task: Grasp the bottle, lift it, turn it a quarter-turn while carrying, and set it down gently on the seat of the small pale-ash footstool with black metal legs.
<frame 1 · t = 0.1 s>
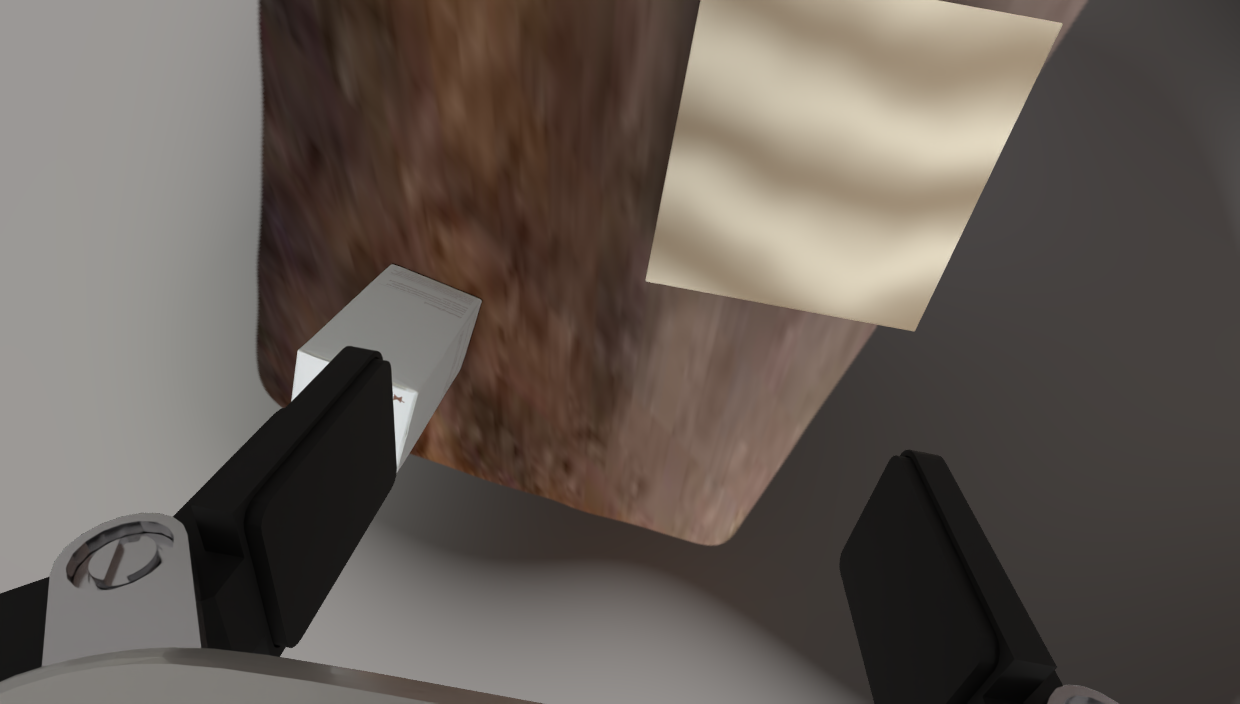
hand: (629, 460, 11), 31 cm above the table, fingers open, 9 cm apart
supplement box: (428, 317, 47), on the table
footstool: (802, 139, 37), on the table
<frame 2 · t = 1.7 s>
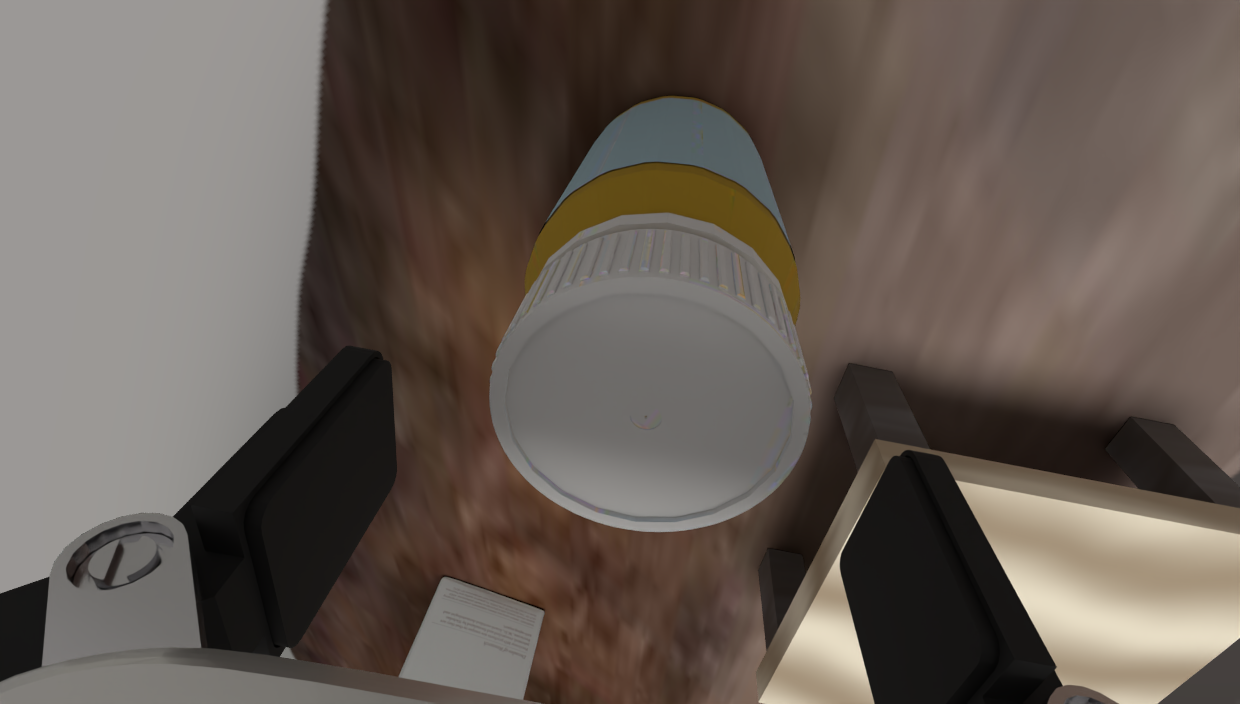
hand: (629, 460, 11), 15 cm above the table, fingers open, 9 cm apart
supplement box: (482, 617, 42), on the table
footstool: (938, 507, 31), on the table
bottle: (673, 184, 24), on the table
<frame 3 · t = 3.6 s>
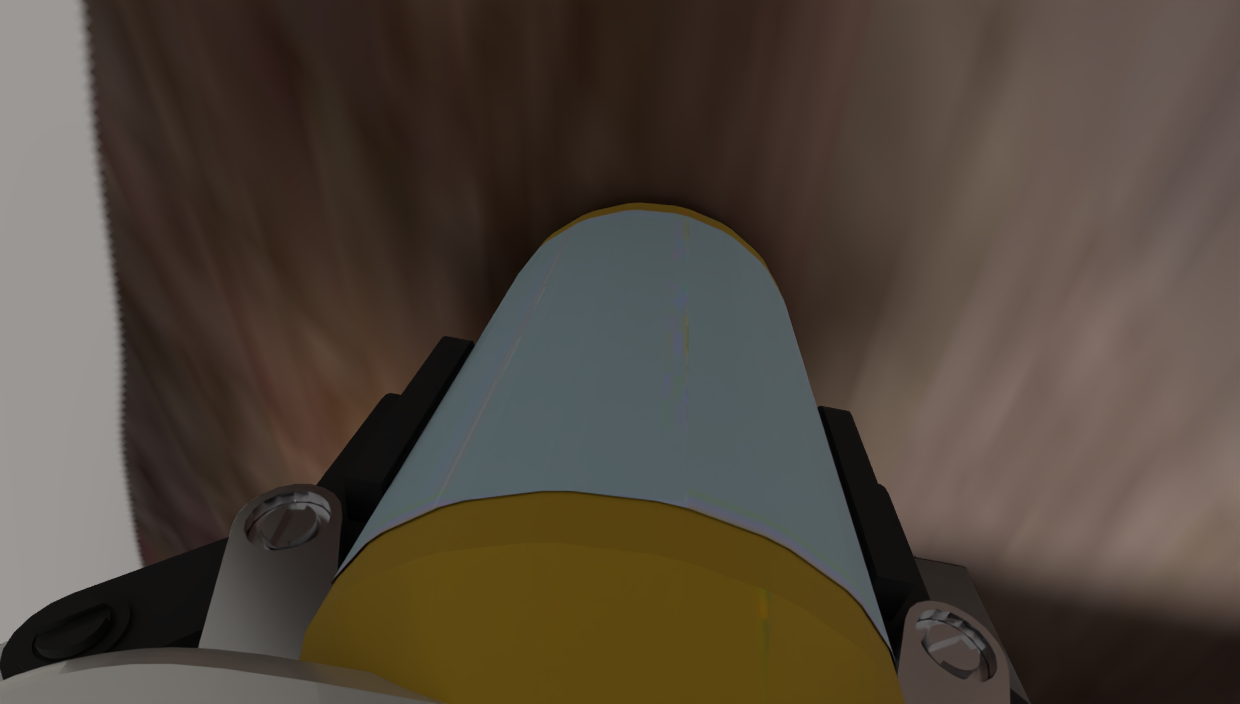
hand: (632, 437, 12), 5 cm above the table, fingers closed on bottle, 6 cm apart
bottle: (647, 322, 16), on the table, touching gripper
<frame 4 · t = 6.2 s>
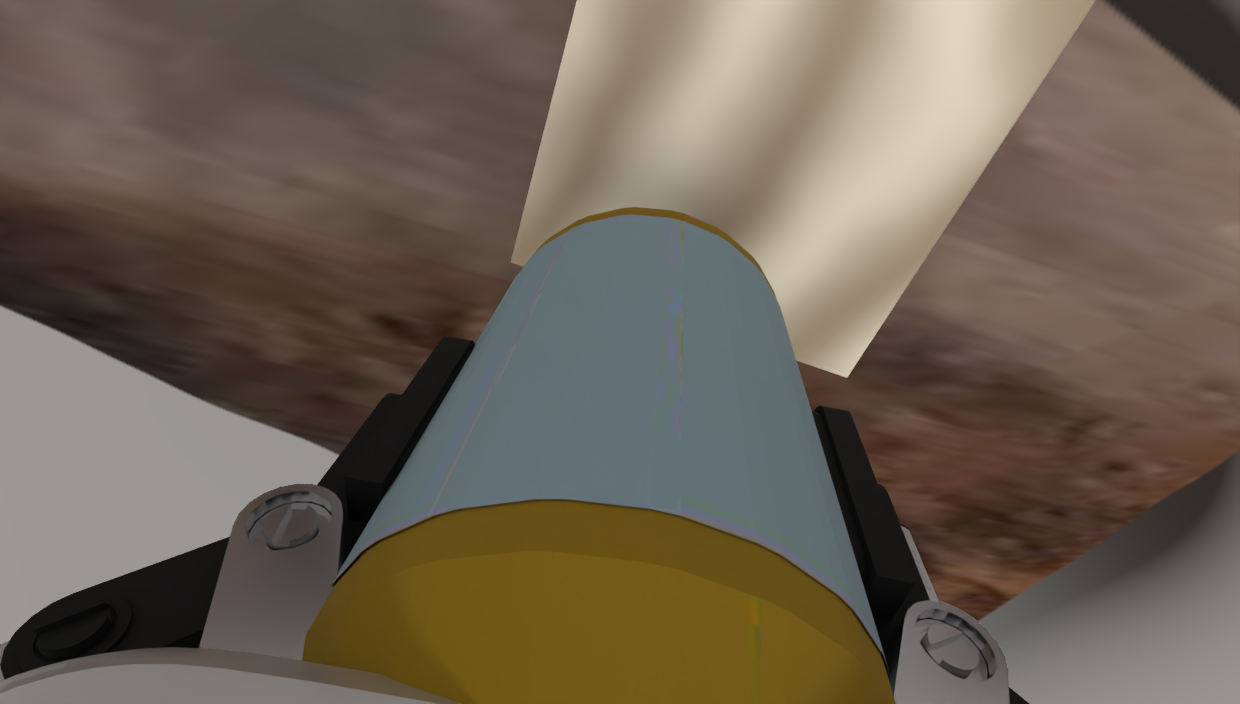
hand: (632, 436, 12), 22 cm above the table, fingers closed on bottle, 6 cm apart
supplement box: (835, 534, 43), on the table
footstool: (744, 112, 29), on the table
bottle: (643, 325, 16), point 17 cm above the table, touching gripper
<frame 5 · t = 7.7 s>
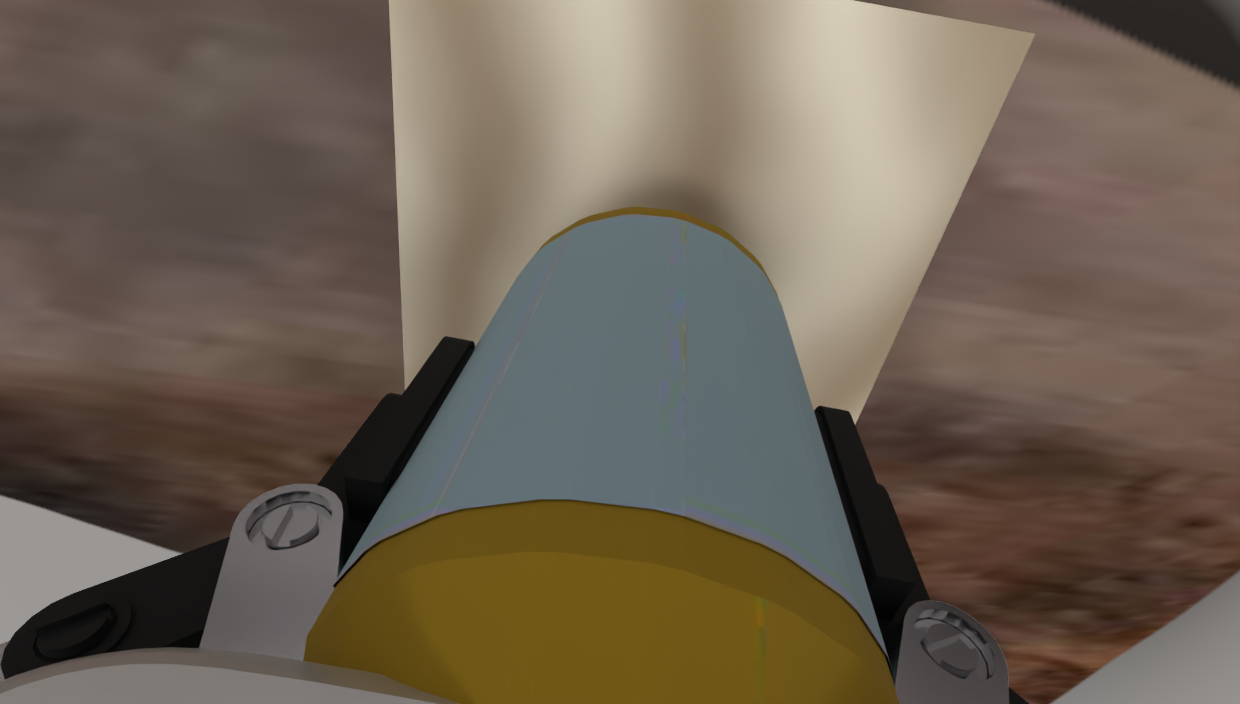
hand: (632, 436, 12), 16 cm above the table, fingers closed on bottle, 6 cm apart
footstool: (659, 202, 25), on the table
bottle: (645, 325, 16), point 11 cm above the table, touching gripper
when the fingers open (13 cm above the table, at t = 9.1 s): bottle drops 1 cm, resting on footstool.
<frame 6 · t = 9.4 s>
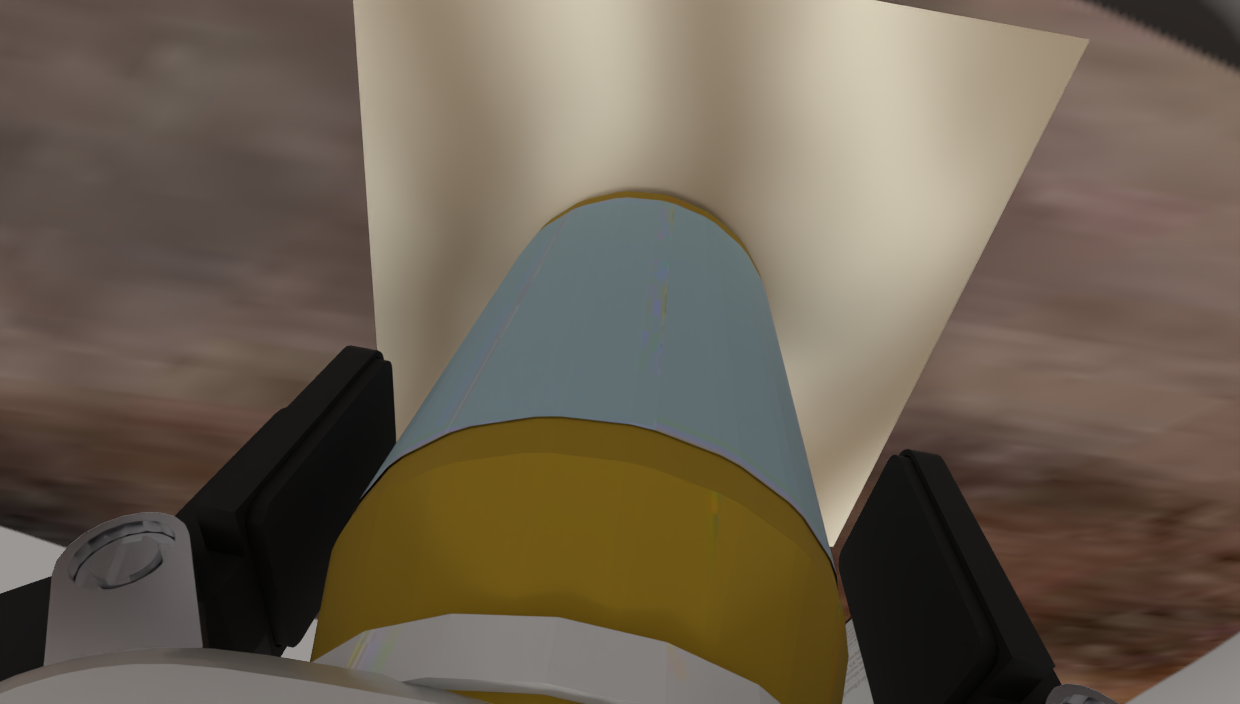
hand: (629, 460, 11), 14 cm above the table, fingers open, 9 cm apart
supplement box: (880, 654, 36), on the table
footstool: (660, 218, 23), on the table
bottle: (638, 304, 17), point 7 cm above the table, touching footstool
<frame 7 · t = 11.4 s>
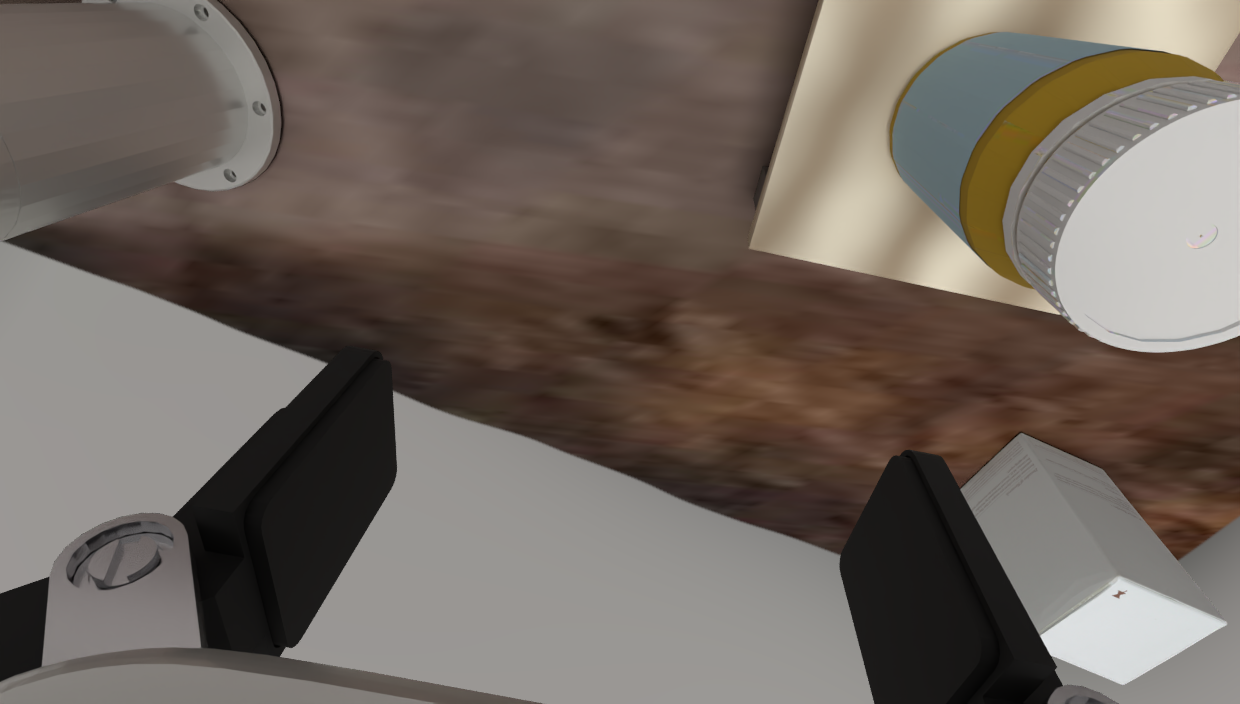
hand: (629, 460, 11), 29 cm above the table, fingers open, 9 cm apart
supplement box: (1024, 480, 45), on the table
footstool: (927, 94, 33), on the table
bottle: (968, 119, 27), point 7 cm above the table, touching footstool
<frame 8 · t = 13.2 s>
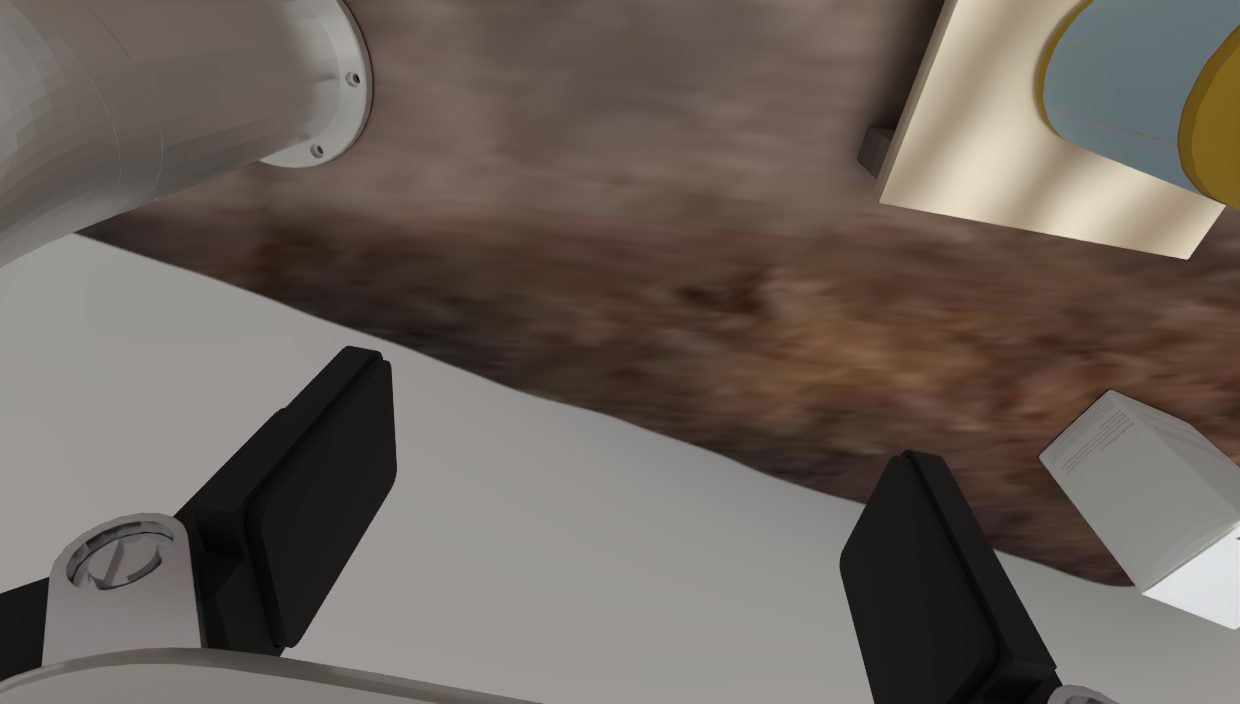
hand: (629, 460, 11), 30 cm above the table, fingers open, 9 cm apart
supplement box: (1108, 438, 45), on the table
footstool: (1041, 46, 33), on the table
bottle: (1114, 62, 27), point 7 cm above the table, touching footstool
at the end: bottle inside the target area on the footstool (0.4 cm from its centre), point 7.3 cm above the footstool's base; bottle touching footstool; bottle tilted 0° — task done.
